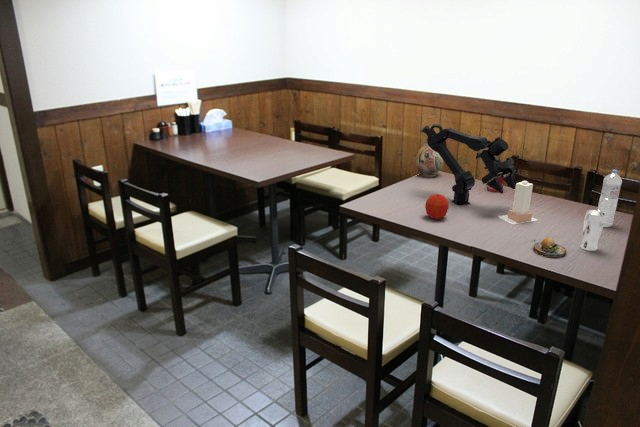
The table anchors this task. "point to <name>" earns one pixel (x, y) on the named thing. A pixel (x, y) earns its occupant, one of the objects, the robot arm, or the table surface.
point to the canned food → (499, 183)
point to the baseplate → (513, 220)
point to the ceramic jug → (429, 155)
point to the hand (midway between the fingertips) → (508, 191)
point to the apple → (437, 206)
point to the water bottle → (610, 197)
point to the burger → (549, 249)
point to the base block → (519, 216)
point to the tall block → (522, 197)
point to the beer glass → (592, 229)
